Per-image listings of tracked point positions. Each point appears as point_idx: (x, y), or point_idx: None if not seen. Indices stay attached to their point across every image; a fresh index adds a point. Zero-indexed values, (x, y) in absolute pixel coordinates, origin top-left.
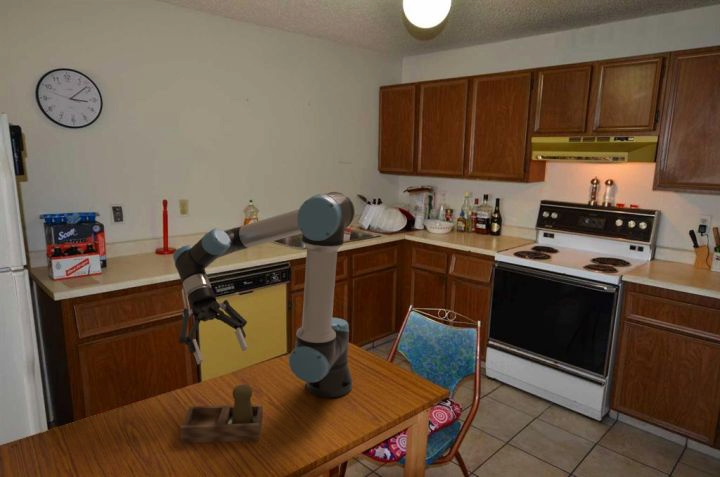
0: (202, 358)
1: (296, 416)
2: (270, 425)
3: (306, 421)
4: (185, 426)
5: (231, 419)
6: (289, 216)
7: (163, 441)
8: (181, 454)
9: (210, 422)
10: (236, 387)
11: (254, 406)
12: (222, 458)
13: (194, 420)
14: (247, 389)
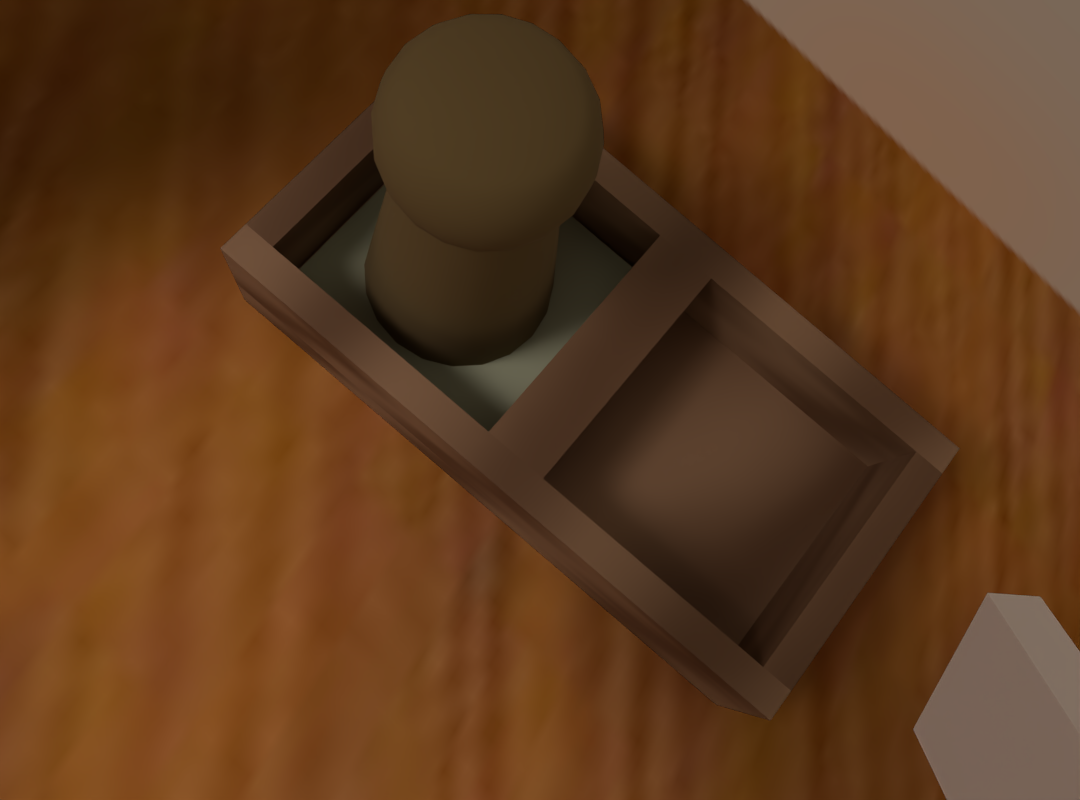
0: (1005, 616)
1: (9, 122)
2: (261, 181)
3: (6, 14)
4: (920, 437)
5: (497, 395)
6: None
7: (972, 586)
8: (923, 354)
9: (645, 495)
10: (547, 152)
11: (303, 274)
12: (736, 127)
13: (734, 618)
14: (469, 27)
